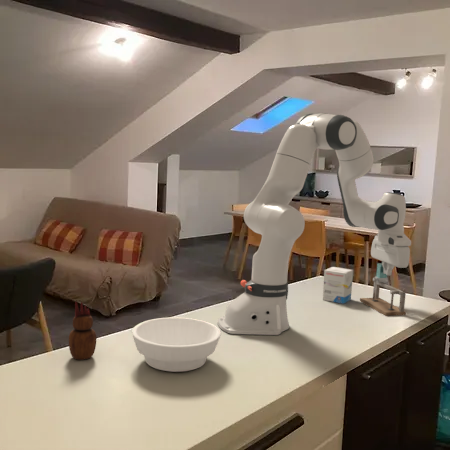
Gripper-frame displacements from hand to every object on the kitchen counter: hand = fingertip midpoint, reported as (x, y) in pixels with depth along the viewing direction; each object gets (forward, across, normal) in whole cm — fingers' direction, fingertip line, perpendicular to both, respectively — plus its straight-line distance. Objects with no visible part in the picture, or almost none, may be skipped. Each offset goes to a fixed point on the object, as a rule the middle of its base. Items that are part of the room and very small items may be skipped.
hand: (387, 274), depth 198 cm
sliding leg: (+10, -4, -1) cm, 11 cm away
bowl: (+12, +42, -84) cm, 95 cm away
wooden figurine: (+12, +36, -108) cm, 114 cm away
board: (+12, +3, -3) cm, 12 cm away
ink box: (+12, -9, -15) cm, 21 cm away
